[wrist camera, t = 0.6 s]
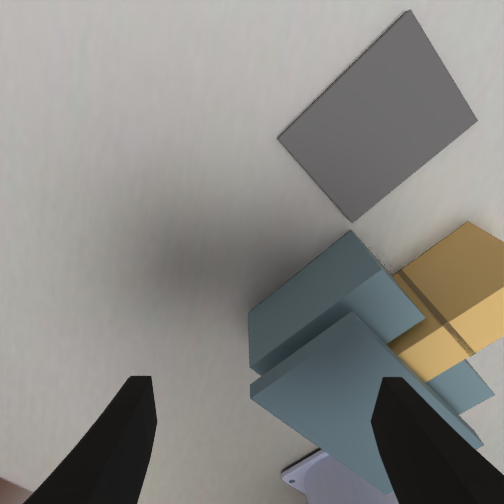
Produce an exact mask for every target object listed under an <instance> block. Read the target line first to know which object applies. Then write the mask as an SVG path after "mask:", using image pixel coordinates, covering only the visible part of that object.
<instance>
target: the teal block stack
mask: <svg viewBox="0 0 504 504" xmlns="http://www.w3.org/2000/svg"><path fill="white" fill-rule="evenodd" d="M423 319H425V316H424V315H423V314H422V313H421V311H420V310H419V309H418V308H417V306H416V305H415V304H414V303H413V302H412V300H411V299H410V298H409V297H408V295H407V294H406V293H405V292H404V290H403V289H402V288H401V287H400V285H399V284H398V283H397V282H396V280H395V279H394V278H393V277H392V275H391V274H390V273H389V272H388V271H387V269H386V268H385V267H384V266H383V265H382V264H381V263H380V262H379V261H378V259H377V258H376V257H375V256H374V255H373V254H372V253H371V252H370V251H369V249H368V248H367V247H366V246H365V245H364V244H363V243H362V242H361V240H360V239H359V238H358V237H357V236H356V235H355V234H354V233H353V232H352V230H351V231H349V232H348V233H347V234H346V235H344V236H343V237H342V238H341V239H339V240H338V241H337V242H336V243H334V244H333V245H332V246H331V247H329V248H328V249H327V250H326V251H325V252H323V253H322V254H321V255H320V256H318V257H317V258H316V259H315V260H313V261H312V262H311V263H310V264H308V265H307V266H306V267H305V268H303V269H302V270H301V271H300V272H299V273H297V274H296V275H295V276H294V277H292V278H291V279H290V280H289V281H287V282H286V283H285V284H284V285H282V286H281V287H280V288H279V289H277V290H276V291H275V292H274V293H273V294H271V295H270V296H269V297H268V298H266V299H265V300H264V301H263V302H261V303H260V304H259V305H258V306H256V307H255V308H254V309H253V310H251V311H250V312H249V313H248V332H249V366H250V368H251V369H253V370H254V371H255V372H256V373H258V374H259V375H260V376H261V377H260V378H259V379H257V380H256V381H254V382H253V383H252V384H250V399H252V400H253V401H254V402H256V403H257V404H259V405H260V406H262V407H263V408H264V409H266V410H267V411H269V412H270V413H271V414H273V415H274V416H276V417H277V418H278V419H280V420H281V421H283V422H284V423H285V424H287V425H288V426H290V427H291V428H292V429H294V430H295V431H297V432H298V433H300V434H301V435H302V436H304V437H305V438H307V439H308V440H309V441H311V442H312V443H314V444H315V445H316V446H318V447H319V448H321V449H322V450H323V451H325V452H326V453H328V454H329V455H330V456H332V457H333V458H335V459H336V460H338V461H339V462H340V463H342V464H343V465H345V466H346V467H347V468H349V469H350V470H352V471H353V472H354V473H356V474H357V475H359V476H360V477H361V478H363V479H364V480H366V481H367V482H369V483H370V484H371V485H373V486H374V487H376V488H377V489H378V490H380V491H381V492H383V493H384V494H385V495H387V494H389V493H391V492H393V491H394V490H393V488H392V485H391V483H390V480H389V478H388V475H387V473H386V470H385V468H384V465H383V462H382V460H381V457H380V454H379V451H378V447H377V444H376V440H375V436H374V433H373V429H372V425H371V418H372V414H373V411H374V407H375V403H376V400H377V396H378V392H379V389H380V385H381V382H382V378H383V377H402V378H404V379H405V380H406V381H407V382H408V383H409V384H410V385H411V386H412V387H413V388H414V390H415V391H416V392H417V393H418V394H419V395H420V396H421V397H422V398H423V399H424V400H425V401H426V402H427V403H428V404H429V405H430V406H431V407H432V408H433V409H434V410H435V411H436V412H437V413H438V414H439V415H440V416H441V417H442V418H443V419H444V420H445V421H446V422H447V423H448V424H449V425H450V426H451V427H452V428H453V429H454V430H455V431H456V432H457V433H458V434H459V435H460V436H462V437H463V438H464V439H465V440H466V441H467V442H468V443H469V444H470V445H471V446H472V447H473V448H474V449H475V450H476V449H478V448H480V447H482V446H484V444H483V443H482V441H481V440H480V438H479V437H478V435H477V434H476V432H475V431H474V430H473V429H472V428H471V427H470V426H469V425H468V424H467V423H466V422H465V421H464V420H463V419H462V418H461V417H460V416H459V414H461V413H463V412H465V411H466V410H468V409H470V408H472V407H474V406H476V405H477V404H479V403H481V402H483V401H485V400H486V399H488V398H490V397H492V396H494V395H495V394H494V393H493V392H492V390H491V389H490V388H489V387H488V386H487V384H486V383H485V382H484V381H483V380H482V378H481V377H480V376H479V375H478V373H477V372H476V371H475V370H474V369H473V367H472V366H471V365H470V364H469V363H468V361H467V360H466V359H464V360H463V361H461V362H459V363H458V364H456V365H454V366H453V367H451V368H449V369H448V370H446V371H444V372H442V373H441V374H439V375H437V376H436V377H434V378H432V379H431V380H429V381H427V382H426V383H425V382H424V381H423V380H422V379H421V378H420V377H419V376H418V375H417V374H416V373H415V372H414V371H413V370H412V369H411V368H410V367H409V366H408V365H407V364H406V363H405V362H404V361H403V360H402V359H401V358H400V357H399V356H398V355H397V354H396V353H395V352H393V351H392V350H391V349H390V348H389V347H388V346H387V345H386V344H387V343H389V342H390V341H392V340H393V339H395V338H396V337H398V336H399V335H401V334H402V333H404V332H405V331H407V330H408V329H410V328H411V327H413V326H414V325H416V324H417V323H419V322H420V321H422V320H423Z"/></svg>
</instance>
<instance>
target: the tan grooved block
mask: <svg viewBox="0 0 504 504" xmlns="http://www.w3.org/2000/svg"><path fill="white" fill-rule="evenodd" d="M392 277H393V278H394V279H395V280H396V282H397V283H398V284H399V285H400V287H401V288H402V289H403V290H404V292H405V293H406V294H407V295H408V297H409V298H410V299H411V300H412V302H413V303H414V304H415V305H416V306H417V308H418V309H419V310H420V311H421V313H422V314H423V315H424V316H425V319H423V320H422V321H420V322H419V323H417V324H416V325H414V326H413V327H411V328H410V329H408V330H407V331H405V332H404V333H402V334H401V335H399V336H398V337H396V338H395V339H393V340H392V341H390V342H389V343H387V344H386V345H387V346H388V347H389V348H390V349H391V350H392V351H393V352H395V353H396V354H397V355H398V356H399V357H400V358H401V359H402V360H403V361H404V362H405V363H406V364H407V365H408V366H409V367H410V368H411V369H412V370H413V371H414V372H415V373H416V374H417V375H418V376H419V377H420V378H421V379H422V380H423V381H424V382H425V383H426V382H427V381H429V380H431V379H432V378H434V377H436V376H437V375H439V374H441V373H442V372H444V371H446V370H448V369H449V368H451V367H453V366H454V365H456V364H458V363H459V362H461V361H463V360H464V359H466V358H468V357H469V356H470V357H471V356H472V355H474V354H476V352H478V351H479V350H481V349H483V348H484V347H486V346H488V345H489V344H491V343H493V342H494V341H496V340H498V339H499V338H501V337H503V336H504V242H503V241H501V240H499V239H498V238H496V237H494V236H492V235H491V234H489V233H487V232H486V231H484V230H482V229H480V228H479V227H477V226H475V225H474V224H472V223H470V222H466V223H465V224H464V225H462V226H461V227H460V228H458V229H457V230H455V231H454V232H453V233H451V234H450V235H449V236H447V237H446V238H444V239H443V240H442V241H440V242H439V243H438V244H436V245H435V246H433V247H432V248H431V249H429V250H428V251H427V252H425V253H424V254H422V255H421V256H420V257H418V258H417V259H416V260H414V261H413V262H411V263H410V264H409V265H407V266H406V267H405V268H403V269H401V270H399V271H398V272H397V273H396V274H395V275H393V276H392Z"/></svg>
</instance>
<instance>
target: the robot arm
mask: <svg viewBox="0 0 504 504" xmlns="http://www.w3.org/2000/svg"><path fill="white" fill-rule="evenodd" d="M371 425H372V429H373V433H374V436H375V440H376V444H377V447H378V451H379V454H380V457H381V460H382V462H383V465H384V468H385V470H386V473H387V475H388V478H389V480H390V483H391V485H392V488H393V490H394V491H393V492H391V493H389V494H387V495H385V494H384V493H383V492H381V491H380V490H378V489H377V488H376V487H374V486H373V485H371V484H370V483H369V482H367V481H366V480H364V479H363V478H361V477H360V476H359V475H357V474H356V473H354V472H353V471H352V470H350V469H349V468H347V467H346V466H345V465H343V464H342V463H340V462H339V461H338V460H336V459H335V458H333V457H332V456H330V455H329V454H328V453H326V452H325V451H323V450H322V449H321V450H320V451H318V452H316V453H315V454H313V455H311V456H310V457H308V458H306V459H304V460H303V461H301V462H299V463H298V464H296V465H294V466H293V467H291V468H289V469H288V470H286V471H284V472H283V473H282V480H283V481H284V482H286V483H287V484H289V485H290V486H292V487H294V488H295V489H297V490H298V491H300V492H302V493H303V494H305V495H306V498H307V504H504V475H503V474H502V473H501V472H500V471H498V470H497V469H496V468H495V467H494V466H493V465H492V464H491V463H490V462H488V461H487V460H486V459H485V458H484V457H483V456H482V455H481V454H480V453H478V452H477V451H476V450H475V449H474V448H473V447H472V446H471V445H470V444H469V443H468V442H467V441H466V440H465V439H464V438H463V437H462V436H460V435H459V434H458V433H457V432H456V431H455V430H454V429H453V428H452V427H451V426H450V425H449V424H448V423H447V422H446V421H445V420H444V419H443V418H442V417H441V416H440V415H439V414H438V413H437V412H436V411H435V410H434V409H433V408H432V407H431V406H430V405H429V404H428V403H427V402H426V401H425V400H424V399H423V398H422V397H421V396H420V395H419V394H418V393H417V392H416V391H415V390H414V388H413V387H412V386H411V385H410V384H409V383H408V382H407V381H406V380H405V379H404V378H402V377H383V378H382V382H381V385H380V389H379V392H378V396H377V400H376V403H375V407H374V411H373V414H372V418H371ZM156 426H157V416H156V408H155V401H154V393H153V386H152V378H151V376H130V377H129V378H128V379H127V381H126V382H125V383H124V385H123V386H122V388H121V389H120V390H119V392H118V393H117V394H116V396H115V397H114V398H113V400H112V401H111V402H110V404H109V405H108V406H107V408H106V409H105V410H104V412H103V413H102V414H101V415H100V417H99V418H98V419H97V420H96V422H95V423H94V424H93V425H92V427H91V428H90V429H89V430H88V432H87V433H86V434H85V435H84V436H83V438H82V439H81V440H80V441H79V443H78V444H77V445H76V446H75V447H74V448H73V450H72V451H71V452H70V453H69V454H68V455H67V456H66V458H65V459H64V460H63V461H62V462H61V463H60V464H59V465H58V467H57V468H56V469H55V470H54V471H53V472H52V473H51V475H50V476H49V477H48V478H47V479H46V480H45V481H44V482H43V483H42V484H41V485H40V486H39V487H38V489H37V490H36V491H35V492H34V493H33V494H32V495H31V496H30V497H29V498H28V499H27V500H26V501H25V502H24V503H23V504H137V502H138V499H139V495H140V492H141V488H142V485H143V482H144V478H145V475H146V471H147V468H148V464H149V461H150V457H151V452H152V447H153V442H154V437H155V431H156Z"/></svg>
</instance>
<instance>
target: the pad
mask: <svg viewBox="0 0 504 504" xmlns="http://www.w3.org/2000/svg"><path fill="white" fill-rule="evenodd" d="M477 121H478V120H477V118H476V117H475V115H474V113H473V112H472V110H471V108H470V107H469V105H468V104H467V102H466V100H465V99H464V97H463V95H462V94H461V92H460V90H459V89H458V87H457V85H456V84H455V82H454V80H453V79H452V77H451V75H450V74H449V72H448V70H447V69H446V67H445V66H444V64H443V62H442V61H441V59H440V57H439V56H438V54H437V52H436V51H435V49H434V47H433V46H432V44H431V42H430V41H429V39H428V37H427V36H426V34H425V32H424V31H423V29H422V27H421V26H420V24H419V23H418V21H417V19H416V18H415V16H414V14H413V13H412V11H411V9H410V10H408V11H406V12H405V13H404V14H403V15H402V16H401V17H400V18H399V19H398V20H397V21H396V22H395V23H394V24H393V25H392V26H391V27H390V28H389V29H388V30H387V31H386V32H385V33H384V34H383V35H382V36H381V37H380V38H379V39H378V40H377V41H376V42H374V43H373V44H372V45H371V46H370V47H369V48H368V49H367V50H366V51H365V52H364V53H363V54H362V55H361V56H360V57H359V58H358V59H357V60H356V61H355V62H354V63H353V64H352V65H351V66H350V67H349V68H348V69H347V70H346V71H345V72H344V73H343V74H342V75H341V76H340V77H339V78H338V79H337V80H336V81H335V82H334V83H333V84H332V85H331V86H330V87H329V88H328V89H327V90H326V91H325V92H324V93H323V94H322V95H321V96H319V97H318V98H317V99H316V100H315V101H314V102H313V103H312V104H311V105H310V106H309V107H308V108H307V109H306V110H305V111H304V112H303V113H302V114H301V115H300V116H299V117H298V118H297V119H296V120H295V121H294V122H293V123H292V124H291V125H290V126H289V127H288V128H287V129H286V130H285V131H284V132H283V133H282V134H281V135H280V136H279V137H278V138H277V139H278V140H279V141H280V142H281V143H282V144H283V145H284V147H285V148H286V149H287V150H288V151H289V152H290V153H291V154H292V156H293V157H294V158H295V159H296V160H297V161H298V162H299V163H300V165H301V166H302V167H303V168H304V169H305V170H306V171H307V172H308V174H309V175H310V176H311V177H312V178H313V179H314V180H315V182H316V183H317V184H318V185H319V186H320V187H321V188H322V189H323V191H324V192H325V193H326V194H327V195H328V196H329V197H330V198H331V200H332V201H333V202H334V203H335V204H336V205H337V206H338V207H339V209H340V210H341V211H342V212H343V213H344V214H345V215H346V217H347V218H348V219H349V220H350V221H351V222H352V223H353V222H354V221H355V220H357V219H358V218H359V217H360V216H362V215H363V214H364V213H365V212H366V211H368V210H369V209H370V208H371V207H373V206H374V205H375V204H376V203H378V202H379V201H380V200H381V199H382V198H384V197H385V196H386V195H387V194H389V193H390V192H391V191H392V190H394V189H395V188H396V187H397V186H398V185H400V184H401V183H402V182H403V181H405V180H406V179H407V178H408V177H409V176H411V175H412V174H413V173H414V172H416V171H417V170H418V169H419V168H421V167H422V166H423V165H424V164H425V163H427V162H428V161H429V160H430V159H432V158H433V157H434V156H435V155H437V154H438V153H439V152H440V151H441V150H443V149H444V148H445V147H446V146H448V145H449V144H450V143H451V142H452V141H454V140H455V139H456V138H457V137H459V136H460V135H461V134H462V133H464V132H465V131H466V130H467V129H468V128H470V127H471V126H472V125H473V124H475V123H476V122H477Z"/></svg>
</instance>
